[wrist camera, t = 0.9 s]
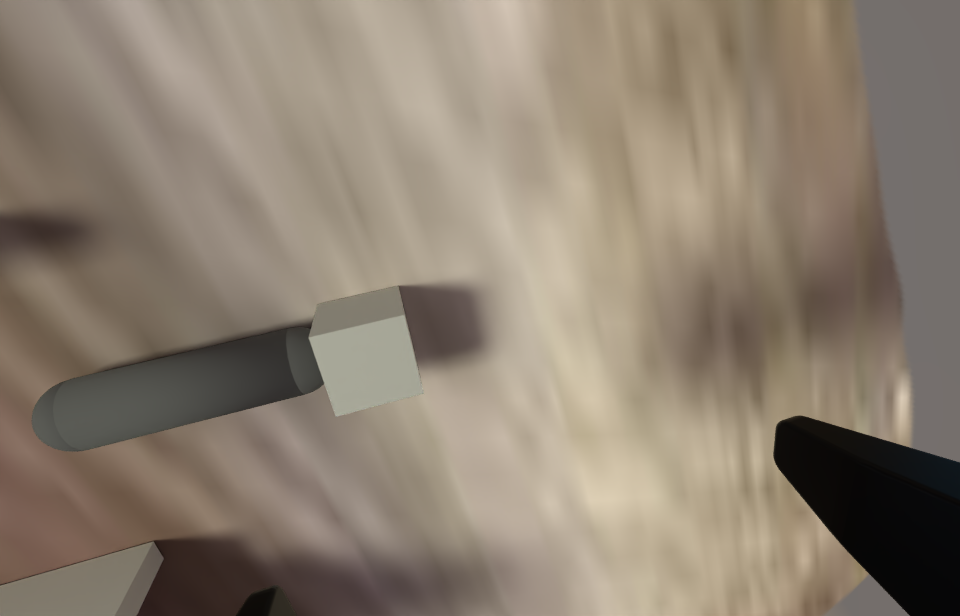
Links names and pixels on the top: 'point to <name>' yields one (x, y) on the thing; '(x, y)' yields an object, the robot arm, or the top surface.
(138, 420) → the grey bar
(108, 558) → the white slat
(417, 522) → the top surface
